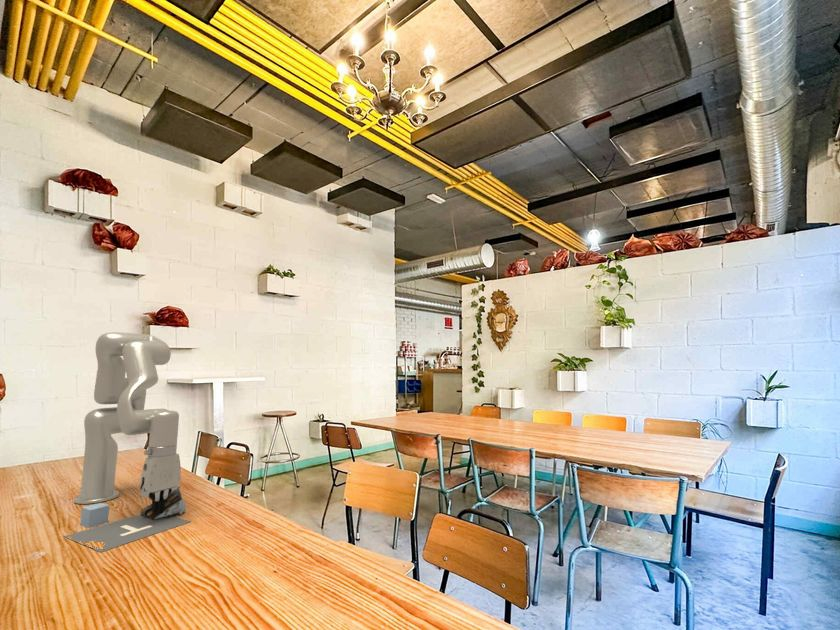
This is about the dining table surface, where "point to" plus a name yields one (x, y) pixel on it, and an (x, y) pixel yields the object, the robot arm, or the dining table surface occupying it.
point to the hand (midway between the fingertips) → (157, 513)
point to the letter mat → (126, 530)
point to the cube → (94, 515)
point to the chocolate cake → (167, 506)
